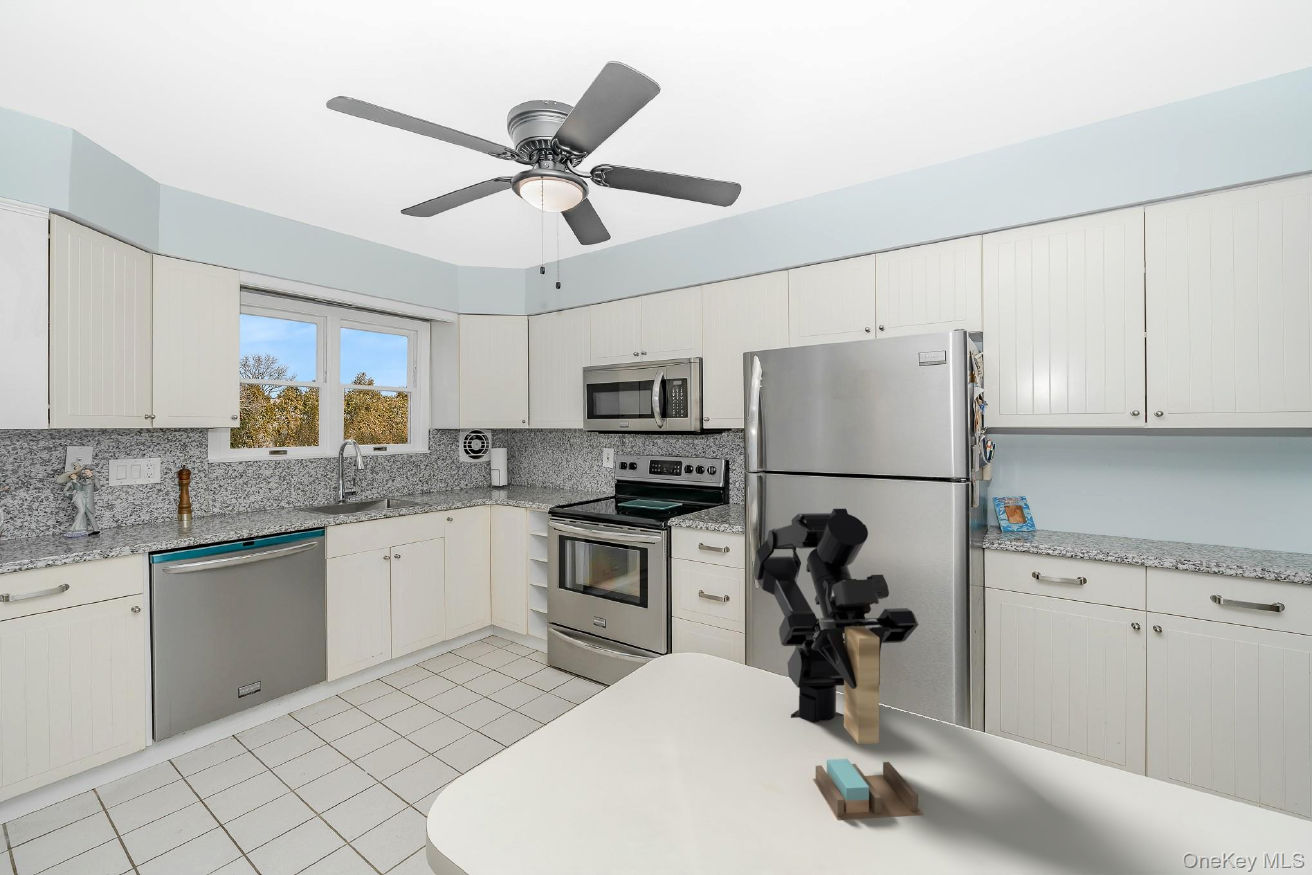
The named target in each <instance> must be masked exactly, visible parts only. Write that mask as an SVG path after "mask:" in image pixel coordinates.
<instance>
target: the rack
mask: <svg viewBox="0 0 1312 875" xmlns="http://www.w3.org/2000/svg"><path fill="white" fill-rule="evenodd" d="M851 764H852V765H853V767H854V768H855V769H856V771H857V772H858V773H859V775H860V776H861V777H862V779H863V780H864V781H865V782H866V784H867V785H868V786H869V812H860V813H846V812H845V811H844V799H843V797H842V796H841V794H840V793H839V791H838V790H837V788H836V787H835V785H834V784H833V782H832V780H831V779H830V777H829V776H828V774H827V770H825V769H824V766H822V765H815V778H812V781H813V782H814V784H815V786H816V788H818V790H819V792H820V794H821V795H822V797H823V799H824V800H825V802H826V803H827V805H828V808H830V811H831V812H832V813H833V815H834V817H835V818H836V820H837V821H846V820H860V819H861V820H863V819H878V818H880V819H881V818H893V817H895V818H896V817H897V818H898V817H912V816H922V815H923V816H924V813H923V812H922V811H921V810H920V809H919V795H918V793H917V792H916V791H915V790H914V789H913V788H912V786H911V785H910V784H909V783H908V781H906V779H905V778H903V776H902V775H901V774H900V773H899V772H898V771H897V769H896V768H895V767H894V765H892V764H891V763H890V761H882V774H877V775H876V774H875V775H874V774H872V775H865V774H864V772H862V771H861V769H860V767H859V766H858V765H857V764H856V763H851Z"/></svg>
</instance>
